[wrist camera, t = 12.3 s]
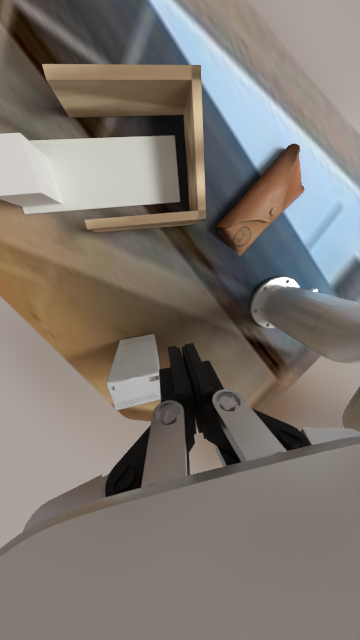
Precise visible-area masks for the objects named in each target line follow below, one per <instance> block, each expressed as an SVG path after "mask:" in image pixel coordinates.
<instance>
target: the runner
mask: <svg viewBox="0 0 360 640" xmlns="http://www.w3.org/2000/svg"><path fill="white" fill-rule="evenodd" d="M29 142H30V143H32V144H33V145H34V146H35V147H36V148H37V149H38V150H39V151H40V152H42V153H43V154H44V155H45V156H46V157H47V158H48V161H49V164H50V167H51V170H52V174H53V177H54V180H55V183H56V186H57V189H58V192H59V195H60V199H61V202H62V204H55V205H44V206H33V207H22V208H23V211H24V213H25V214H35V213H48V212H61V211H74V210H86V209H99V208H112V207H125V206H137V205H150V204H163V203H176V202H180V194H179V182H178V170H177V158H176V146H175V135H171V136H144V137H116V138H89V139H61V140H34V141H29Z"/></svg>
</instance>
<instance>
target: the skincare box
mask: <svg viewBox="0 0 360 640" xmlns="http://www.w3.org/2000/svg"><path fill="white" fill-rule="evenodd" d="M159 369H160V366H159V358H158V351H157V346H156V340H155V336H154V334H150V335H145V336H139V337H134V338H129V339H124V340H120V342H119V345H118V348H117V351H116V355H115V358H114V361H113V364H112V367H111V370H110V373H109V376H108V379H107V382H106V385H107V388H108V391H109V393H110V396H111V398H112V401H113V403H114V406H115V409H116V410H120V409H124V408H128V407H132V406H136V405H140V404H144V403H148V402H153V401H157V400H161V395H160V379H159Z"/></svg>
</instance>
